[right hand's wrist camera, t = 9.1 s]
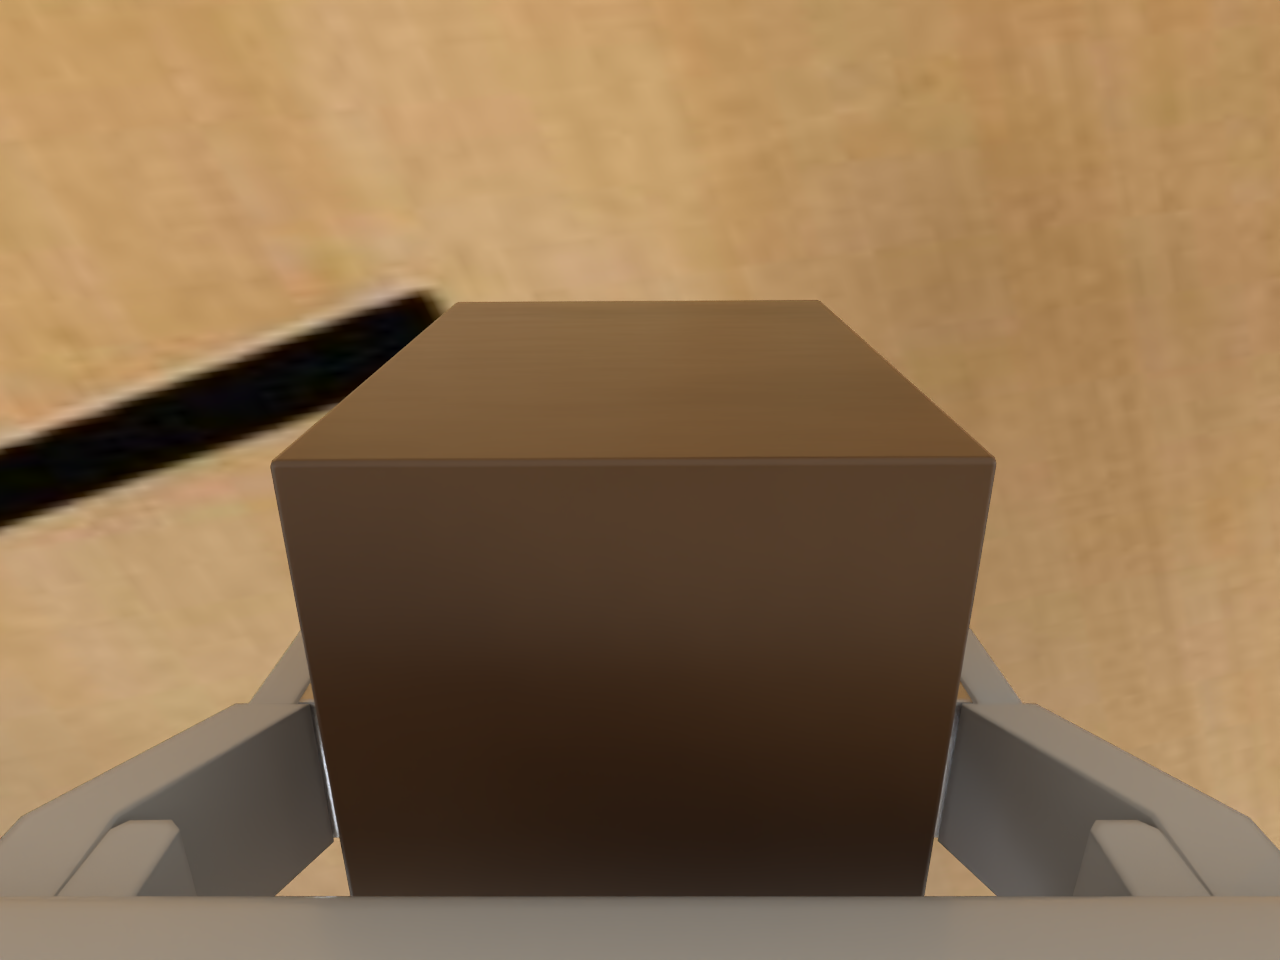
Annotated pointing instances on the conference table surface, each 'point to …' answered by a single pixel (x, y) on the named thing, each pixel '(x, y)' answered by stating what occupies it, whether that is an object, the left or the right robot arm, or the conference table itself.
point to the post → (635, 604)
